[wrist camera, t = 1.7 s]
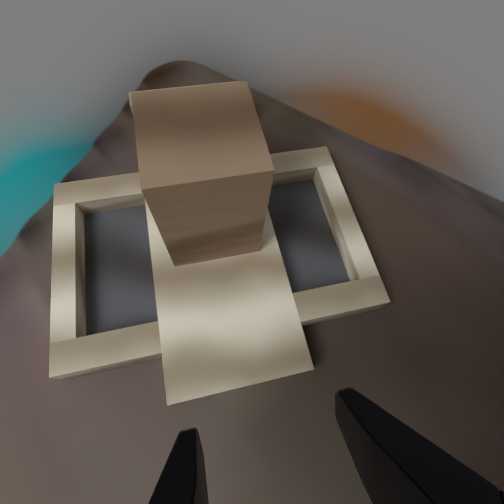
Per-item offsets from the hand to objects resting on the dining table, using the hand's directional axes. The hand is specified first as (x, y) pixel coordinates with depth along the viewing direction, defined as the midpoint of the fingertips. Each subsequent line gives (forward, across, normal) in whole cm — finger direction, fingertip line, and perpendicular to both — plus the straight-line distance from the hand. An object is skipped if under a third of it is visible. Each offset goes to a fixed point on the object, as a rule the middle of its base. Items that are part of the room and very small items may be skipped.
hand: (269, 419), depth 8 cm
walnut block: (+17, 0, -1) cm, 17 cm away
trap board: (+19, 0, +1) cm, 19 cm away
